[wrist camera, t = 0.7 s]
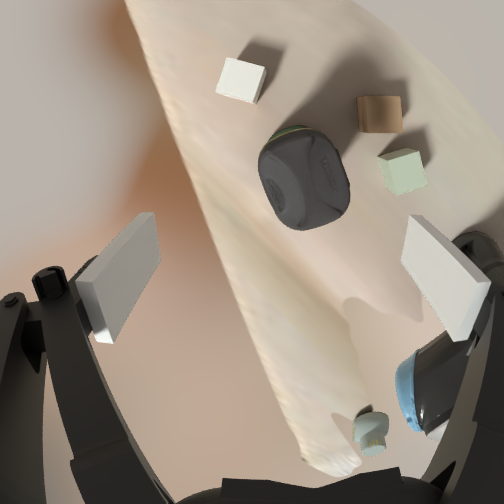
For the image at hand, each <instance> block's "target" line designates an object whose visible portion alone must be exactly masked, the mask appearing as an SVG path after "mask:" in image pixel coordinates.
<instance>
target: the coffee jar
mask: <svg viewBox="0 0 504 504" xmlns="http://www.w3.org/2000/svg"><path fill="white" fill-rule="evenodd" d="M258 172H259V176H260V179H261V182H262V185H263V187H264V190H265V193H266V195H267V197H268V200H269V202H270V204H271V206H272V207H273V209H274V211H275V214H276V215H277V217H278V218H279V220H280V221H281V222H282V223H283V224H285V225H286V226H287V227H289V228H291V229H294V230H300V231H305V230H310V229H313V228H317V227H320V226H323V225H326V224H328V223H330V222H333V221H335V220H337V219H338V218H340V217H341V216H342V215H343V214H344V213H345V211H346V210H347V208H348V206H349V203H350V189H349V188H350V183H349V180H348V178H347V175H346V172H345V169H344V167H343V164H342V161H341V158H340V155H339V153H338V150H337V149H336V148H335V147H334V145H333V144H332V143H331V141H330V140H329V139H328V138H327V137H326V136H325V135H324V134H322V133H321V132H319V131H317V130H315V129H310V128H308V127H306V126H302V125H297V126H292V127H289V128H286V129H283V130H281V131H279V132H277V133H275V134H274V135H273V136H272V137H271V138H270V139H269V141H268V142H267V143H266V144H265V145H264V146H263V148H262V149H261V152H260V154H259V158H258Z"/></svg>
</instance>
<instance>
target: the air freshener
mask: <svg viewBox="0 0 504 504" xmlns="http://www.w3.org/2000/svg"><path fill="white" fill-rule="evenodd" d="M388 429H389V419H388V415H386V414H385V413H382V412H369V413H365V414H363V415H361V416H359V417H357V418H356V419H355V420H354V421H353V429H352V430H353V433H352V434H353V441H355V442H357V443H360V445H361V451H362V454H363V455H365V456H375V455H378V454H380V453H382V452H383V451H384V450H385V449H386V443H385V438H384V437H385V436H386V435H387V433H388Z"/></svg>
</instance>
